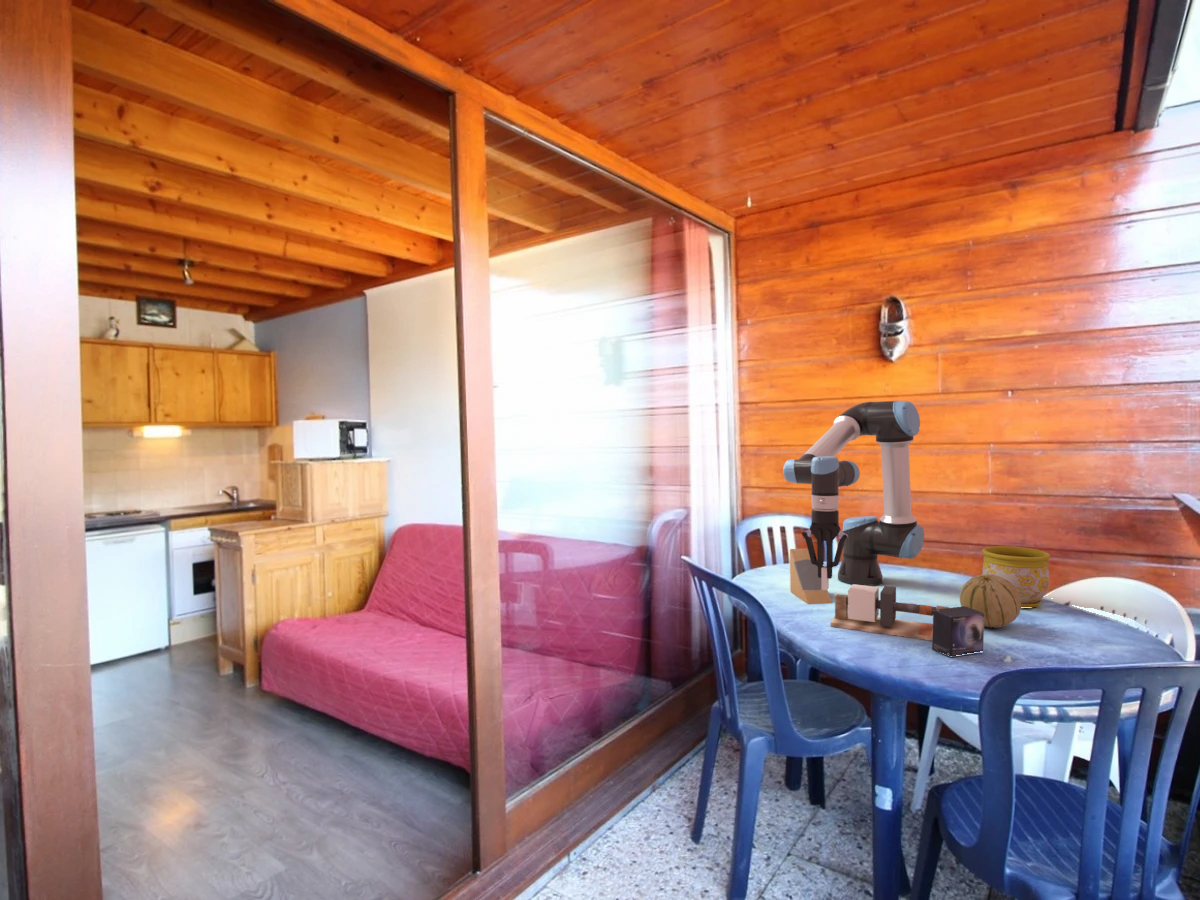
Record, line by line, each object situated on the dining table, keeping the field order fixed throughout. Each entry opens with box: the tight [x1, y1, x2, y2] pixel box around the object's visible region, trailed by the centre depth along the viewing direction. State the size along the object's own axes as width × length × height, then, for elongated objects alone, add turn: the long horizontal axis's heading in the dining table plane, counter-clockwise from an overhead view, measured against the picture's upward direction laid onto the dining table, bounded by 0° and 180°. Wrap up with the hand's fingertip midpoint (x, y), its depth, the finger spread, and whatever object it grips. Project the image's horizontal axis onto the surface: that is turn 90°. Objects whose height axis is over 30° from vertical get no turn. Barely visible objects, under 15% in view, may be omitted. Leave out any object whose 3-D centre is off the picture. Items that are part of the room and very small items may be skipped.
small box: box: [931, 606, 985, 656], centre depth 163 cm, size 11×6×10 cm, turn 106°
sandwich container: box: [789, 548, 833, 605], centre depth 213 cm, size 9×15×15 cm, turn 5°
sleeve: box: [847, 584, 880, 622], centre depth 185 cm, size 7×8×8 cm
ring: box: [879, 585, 897, 627], centre depth 181 cm, size 3×9×9 cm, turn 149°
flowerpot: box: [981, 545, 1051, 608], centre depth 203 cm, size 18×18×16 cm
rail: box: [830, 593, 950, 641], centre depth 181 cm, size 30×11×8 cm, turn 59°
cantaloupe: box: [959, 574, 1021, 628], centre depth 182 cm, size 15×15×15 cm
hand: (825, 588), depth 190 cm, fingers closed
